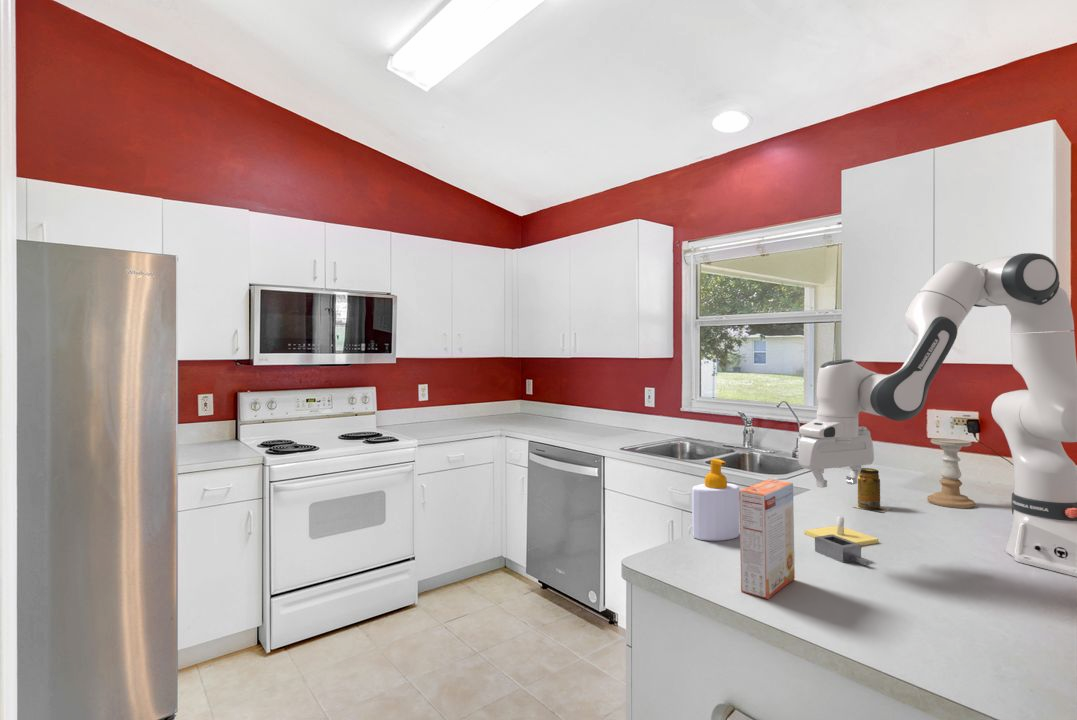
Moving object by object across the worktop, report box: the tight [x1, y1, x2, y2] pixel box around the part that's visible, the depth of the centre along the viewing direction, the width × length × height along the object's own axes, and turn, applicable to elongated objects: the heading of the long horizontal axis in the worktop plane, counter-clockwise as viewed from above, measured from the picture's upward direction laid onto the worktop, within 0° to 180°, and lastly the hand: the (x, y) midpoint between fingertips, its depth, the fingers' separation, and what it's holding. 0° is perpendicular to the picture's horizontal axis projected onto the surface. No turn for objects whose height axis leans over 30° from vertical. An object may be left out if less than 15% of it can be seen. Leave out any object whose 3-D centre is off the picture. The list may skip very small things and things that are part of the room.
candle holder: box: [926, 437, 976, 509], centre depth 176 cm, size 12×12×20 cm
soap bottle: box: [691, 458, 740, 542], centre depth 146 cm, size 13×8×20 cm, turn 105°
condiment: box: [852, 467, 892, 513], centre depth 172 cm, size 7×8×12 cm
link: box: [814, 534, 870, 566], centre depth 130 cm, size 12×6×4 cm, turn 20°
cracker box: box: [739, 478, 796, 600], centre depth 115 cm, size 14×6×21 cm, turn 134°
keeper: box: [803, 515, 879, 547], centre depth 144 cm, size 12×12×6 cm
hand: (836, 485), depth 132 cm, fingers open, 8 cm apart
